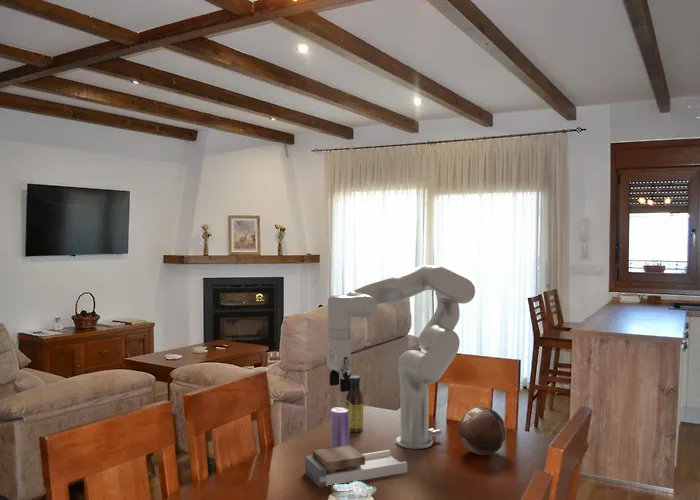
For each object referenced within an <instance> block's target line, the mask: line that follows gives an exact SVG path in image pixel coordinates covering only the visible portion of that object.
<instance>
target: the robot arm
mask: <svg viewBox="0 0 700 500" xmlns="http://www.w3.org/2000/svg"><path fill="white" fill-rule="evenodd" d="M425 291H434V293H435V295H436V300H437V305H436V310H435V312H434V313H433V315H432V316H431V318H430V320H429V321H428V322H427V323H426V325H425V326H424V328H423V330H422V331H421V333H420V334H419V336H418V341H417V342H418V346H419V347H420V348H421V349H422V351H423V352H422V351H419V350H416V349H408V350H405V351H404V352H403V353H402V354H401V355H400V356H399V358H398V362H397V370H398V371H397V372H398V376H399V384H400V435H399V436H397V437H396V438H395V443H396V445H397V446H399V447H402V448H406V449H412V450H420V449H426V448H429V447H432V446H433V445H434V439H433V437H434V436H436V437H437V436H441V435H442V431H441V429H434V428H429V426H430V425H429V423H430V422H429V406H430V405H429V396H430V394H429V386H428V385H433V384H435V383H436V382H438V381H439V380H440V379H441V377H443V375H444V373H445V372H446V371H447V369H448V368H449V366H450V364H452V362H453V360H454V359H455V357H456V356H457V354H458V352H459V348H460V337H459V335H458V333H457V332H456V331H454V330H455V327H456V326H457V325H458V323H459V320H460V315H461V314H460V305H461V304H464V305H465V304H469V303H470V302H471V301H473V299H474V297H475V294H476V287H475V285H474V283H473V282H472V281H471V280H470V279H468V278H466V277H464V276H462V275H460V274H458V273H456V272H454V271H452V270H450V269H448V268H446V267H443V266H441V265H437V264H436V265H435V264H434V265H433V264H422V265H419V266H416V267H414V268H411V269H409V270H407V271H404V272H402V273H399V274H397V275H395V276H392V277H389V278H386V279H382V280H379V281H376V282H372V283H369V284H367V285H366V284H365V285H364V286H361V287H358V288H356V289H354V290H351V291H350V292H347V294H334V295H331V296H329V297H327V339H328V340H327V348H326V350H327V351H326V366H327V367H328V368H329V369H328V372H329V386H331V387H332V386H339V388H340V389H339V391H340V392H342V393H344V392H348V391H350V378H351V376H352V370H353V367H352V347H351V339H352V318H362V319H364V318H365V319H366V318H370V317H372V316H373V315H374V314H375V313H376V312H377V308H378V305H380V304H381V305H382V304H386V303H387V304H390V303H391V304H392V303H394V304H395V303H398V302H404V301H405V300H407V299H410V298H411V297H414V296H416V295H419V294H420V293H422V292H425ZM459 304H460V305H459ZM424 351H425V352H424Z"/></svg>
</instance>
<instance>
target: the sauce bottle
mask: <svg viewBox="0 0 700 500" xmlns="http://www.w3.org/2000/svg"><path fill="white" fill-rule="evenodd" d="M350 376H351V378H350V391H347V394H346V397H345V408H347V409H348V410H349V433H360V432H362V431H363V429H364V428H363V427H364V401H363V397H364V395H363V392H362V391H361V389H360V388H361V386H360V381H361V377H360V376H359V375H350Z"/></svg>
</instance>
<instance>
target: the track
mask: <svg viewBox="0 0 700 500" xmlns="http://www.w3.org/2000/svg"><path fill="white" fill-rule="evenodd" d="M361 454H362V455H364V456H365V465H360V466H361V469H356V470H352V469H351V468H349V467H348V468H342V469H336V470H335V471H336V473H333V474H326V468H325V467H324V466H323V465H321V464H320V463H319V462H318V461H317V460H316V459H315V458H314V457H313V454H312V455H305V456H304V459H305V460H304V461H305V463H304V465H305V466H304V469H305V471H304V472H305V474H306V476H308V477H309V479H311V481H313V483H315V485H317V487H319V488H320V487H321V488H323V487H322V486H327V487H329V486H328V485H332V484H333V483H344V484H348V483H347V482H349V483H351V482H350V481H352V480H361V481H367V480H371V479H377V478H381V477H382V478H384V477H389V476H393V475H399V474H406V473H408V462H407V461H406V460H405V461H399V460H398V459H396V458H394V457H393V456H391V450H390V449H385V450H380V451H374V452H367V453H361ZM332 486H333V485H332Z"/></svg>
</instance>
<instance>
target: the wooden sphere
mask: <svg viewBox="0 0 700 500" xmlns="http://www.w3.org/2000/svg"><path fill="white" fill-rule="evenodd" d="M458 426H459V427H458V433H459V439H460V440H461V443H462V445H464V447H465V448H466V449H467V450H468V451H470V452H471V453H473V454H476V455H479V456H489V455H493V454H494V453H496V452H498V451H499V450H500V449H501V448H502V447H503V446H504V443H505V441H506V438H507V427H506V423H505V422H504V419H503V417H501V415H500V414H499V413H498V412H497V411H495V410H493V409H492V408H489V407H486V406H478V407H473V408H471V409H469V410H468V411H466V412H465V413H464V415H463V416H462V418H461V420H460V422H459V425H458Z"/></svg>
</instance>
